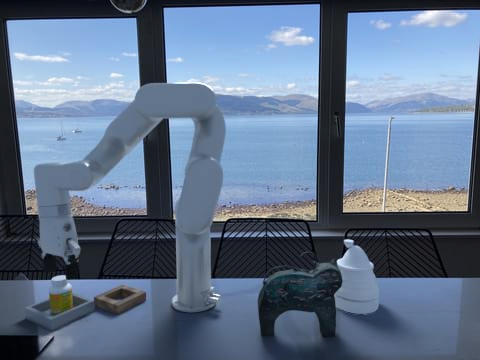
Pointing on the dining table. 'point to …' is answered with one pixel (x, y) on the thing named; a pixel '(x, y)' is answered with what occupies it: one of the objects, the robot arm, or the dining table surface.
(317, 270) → the green animal figurine
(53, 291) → the supplement bottle
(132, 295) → the socket block
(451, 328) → the dining table surface
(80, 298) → the tray
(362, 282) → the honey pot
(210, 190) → the robot arm
